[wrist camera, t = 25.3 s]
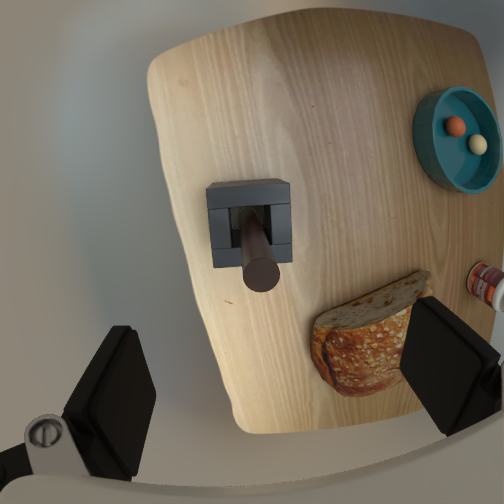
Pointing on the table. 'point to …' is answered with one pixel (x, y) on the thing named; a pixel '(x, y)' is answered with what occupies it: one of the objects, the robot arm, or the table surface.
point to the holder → (249, 194)
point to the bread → (367, 337)
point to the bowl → (457, 140)
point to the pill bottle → (487, 285)
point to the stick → (256, 254)
